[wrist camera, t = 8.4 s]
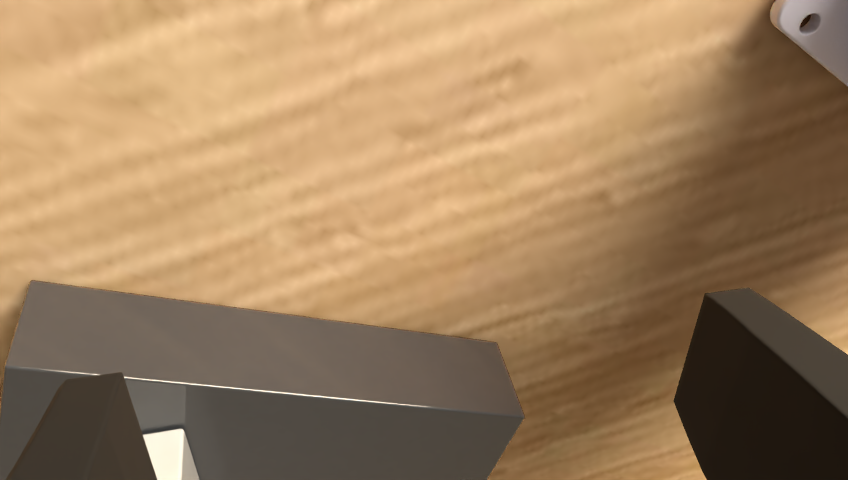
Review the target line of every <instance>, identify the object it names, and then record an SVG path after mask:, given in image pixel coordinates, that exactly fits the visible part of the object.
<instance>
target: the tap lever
mask: <svg viewBox="0 0 848 480" xmlns="http://www.w3.org/2000/svg"><path fill="white" fill-rule="evenodd" d="M143 437H144V440H145V443H146V447H147V450H148V453H149V456H150V459H151V462H152V465H153V468H154V471H155V474H156V477H157V480H199V477H198V473H197V470H196V467H195V464H194V461H193V457H192V454H191V451H190V448H189V445H188V441H187V438H186V435H185V432H184V430H183V429H175V430H168V431H162V432H156V433H150V434H144V435H143Z"/></svg>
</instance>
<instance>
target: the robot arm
mask: <svg viewBox="0 0 848 480" xmlns="http://www.w3.org/2000/svg"><path fill="white" fill-rule="evenodd" d="M810 14H811V18H810V20H809V21H808V23H807V24H806V25H804V26H803V27H801V28H800V24H801V22H802V21H803V19H804V18H805V17H807V16H808V15H810ZM770 20H771V22H772V23H773V25H774V26H775V27H776V28H777V29H779V30H780V31H781V32H782V33H783V34H785V35H786V36H787V37H788V38H789V39H791V40H792V41H793V42H794V43H796V44H797V45H798V46H799V47H800V48H802V49H803V50H804V51H805V52H806V53H808V54H809V55H810V56H811V57H812V58H814V59H815V60H816V61H817V62H818V63H820V64H821V65H822V66H823V67H824V68H826V69H827V70H828V71H829V72H830V73H832V74H833V75H834V76H835V77H837V78H838V79H839V80H840V81H841V82H843V83H844V84H845V85H846V86H847V87H848V0H776V1H775V2H774V4H773V5H772V8H771V11H770ZM674 403H675V406H676V408H677V411H678V413H679V416H680V418H681V421H682V424H683V426H684V429H685V431H686V434H687V436H688V439H689V441H690V444H691V446H692V448H693V450H694V453H695V455H696V457H697V460H698V462H699V464H700V467H701V469H702V471H703V473H704V475H705V477H706V479H707V480H848V355H847V354H846V353H844V352H843V351H842V350H840V349H839V348H837V347H836V346H834V345H833V344H831V343H830V342H829V341H827V340H826V339H824V338H823V337H821V336H820V335H818V334H817V333H816V332H814V331H813V330H811V329H810V328H808V327H807V326H805V325H804V324H803V323H801V322H800V321H798V320H797V319H795V318H794V317H792V316H791V315H789V314H788V313H787V312H785V311H784V310H782V309H781V308H779V307H778V306H776V305H775V304H773V303H772V302H770V301H769V300H767V299H766V298H764V297H763V296H761V295H759V294H758V293H756V292H755V291H753V290H752V289H750V288H742V289H735V290H728V291H720V292H713V293H705V295H704V298H703V302H702V305H701V309H700V312H699V316H698V319H697V322H696V326H695V329H694V333H693V336H692V339H691V343H690V346H689V350H688V353H687V357H686V360H685V363H684V367H683V370H682V374H681V377H680V380H679V384H678V387H677V391H676V394H675V398H674ZM6 480H157V477H156V474H155V471H154V468H153V465H152V462H151V459H150V456H149V453H148V450H147V447H146V443H145V440H144V437H143V434H142V431H141V428H140V425H139V422H138V419H137V416H136V413H135V410H134V407H133V404H132V401H131V398H130V395H129V391H128V388H127V385H126V382H125V379H124V376H123V373H122V372H118V373H110V374H103V375H95V376H88V377H80V378H73V379H66V380H65V381H64V383H63V384H62V385H61V386H60V387H59V388H58V390H57V392H56V393H55V395H54V397H53V399H52V401H51V402H50V404H49V406H48V408H47V410H46V411H45V413H44V415H43V417H42V418H41V420H40V422H39V424H38V426H37V427H36V429H35V431H34V433H33V434H32V436H31V438H30V440H29V441H28V443H27V445H26V446H25V448H24V450H23V452H22V453H21V455H20V457H19V458H18V460H17V462H16V463H15V465H14V467H13V468H12V470H11V472H10V473H9V475H8V477H7V478H6Z"/></svg>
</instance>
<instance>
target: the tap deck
mask: <svg viewBox="0 0 848 480" xmlns="http://www.w3.org/2000/svg"><path fill="white" fill-rule="evenodd" d="M118 372H122V373H123V376H124V379H125V382H126V385H127V388H128V391H129V395H130V398H131V401H132V404H133V407H134V410H135V413H136V416H137V419H138V422H139V425H140V428H141V431H142V434H143V435H144V434H150V433H156V432H162V431H168V430H175V429H183V430H184V432H185V435H186V438H187V441H188V445H189V448H190V451H191V454H192V457H193V461H194V464H195V467H196V470H197V473H198V477H199V480H487V479H488V478H489V476H490V474H491V473H492V471H493V469H494V468H495V466H496V464H497V463H498V461H499V459H500V458H501V456H502V455H503V453H504V451H505V450H506V448H507V446H508V445H509V443H510V441H511V440H512V438H513V436H514V435H515V433H516V432H517V430H518V428H519V427H520V425H521V423H522V422H523V420H524V418H525V415H524V413H523V410H522V407H521V405H520V402H519V399H518V397H517V394H516V392H515V389H514V386H513V384H512V381H511V378H510V376H509V373H508V370H507V368H506V365H505V362H504V360H503V357H502V355H501V352H500V349H499V347H498V344H497V343H496V342H491V341H484V340H476V339H469V338H461V337H454V336H446V335H439V334H431V333H424V332H416V331H409V330H401V329H394V328H386V327H379V326H371V325H364V324H356V323H349V322H341V321H334V320H326V319H319V318H311V317H304V316H296V315H289V314H281V313H274V312H266V311H259V310H251V309H244V308H236V307H229V306H221V305H214V304H207V303H199V302H192V301H184V300H177V299H169V298H162V297H154V296H147V295H139V294H132V293H124V292H117V291H109V290H102V289H94V288H87V287H79V286H72V285H64V284H57V283H49V282H42V281H34V280H32V281H30V282H29V285H28V288H27V292H26V295H25V298H24V302H23V305H22V308H21V312H20V315H19V318H18V322H17V325H16V328H15V332H14V335H13V338H12V342H11V345H10V348H9V352H8V355H7V358H6V362H5V365H4V372H3V383H2V393H1V404H0V480H6V478H7V477H8V475H9V473H10V472H11V470H12V468H13V467H14V465H15V463H16V462H17V460H18V458H19V457H20V455H21V453H22V452H23V450H24V448H25V446H26V445H27V443H28V441H29V440H30V438H31V436H32V434H33V433H34V431H35V429H36V427H37V426H38V424H39V422H40V420H41V418H42V417H43V415H44V413H45V411H46V410H47V408H48V406H49V404H50V402H51V401H52V399H53V397H54V395H55V393H56V392H57V390H58V388H59V387H60V386H61V385H62V384H63V383H64V381H65V380H66V379H73V378H80V377H88V376H95V375H103V374H110V373H118Z"/></svg>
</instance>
